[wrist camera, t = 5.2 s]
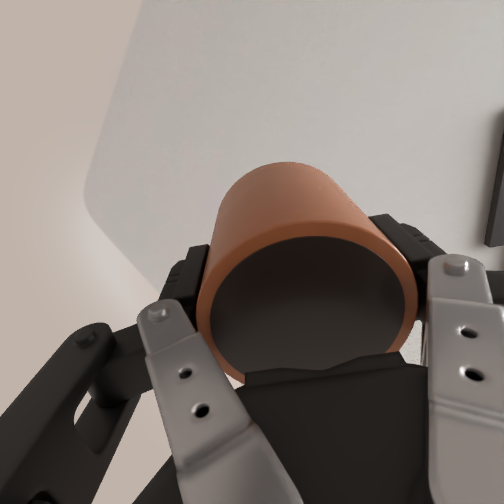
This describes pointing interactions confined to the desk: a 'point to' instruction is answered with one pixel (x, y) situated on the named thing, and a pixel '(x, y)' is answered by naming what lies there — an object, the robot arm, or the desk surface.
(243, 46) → the desk surface
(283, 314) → the copper pot
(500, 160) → the spatula
